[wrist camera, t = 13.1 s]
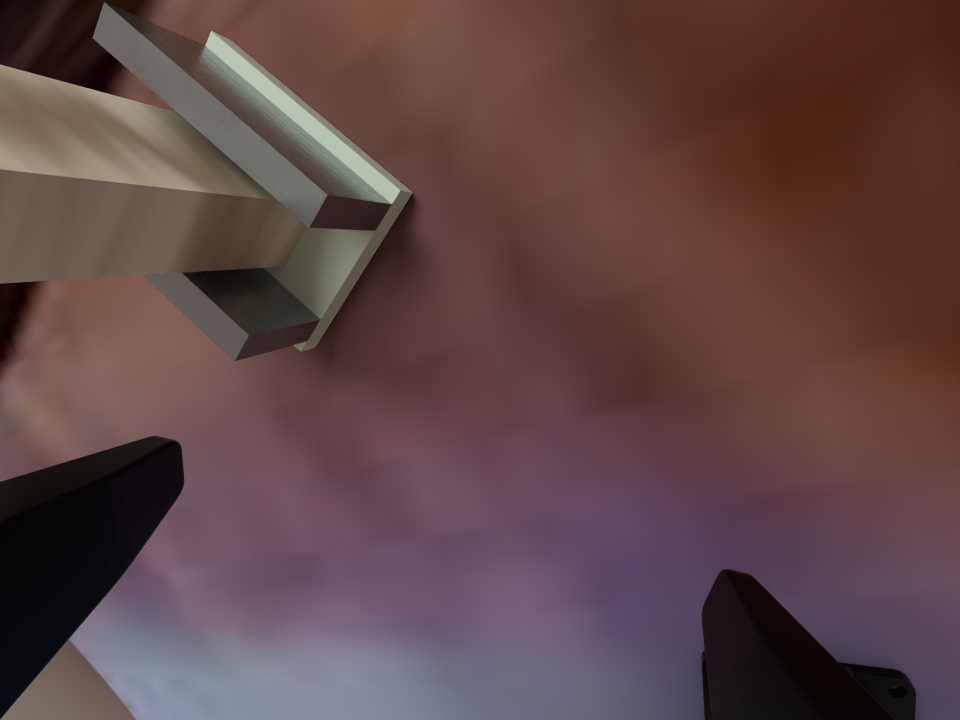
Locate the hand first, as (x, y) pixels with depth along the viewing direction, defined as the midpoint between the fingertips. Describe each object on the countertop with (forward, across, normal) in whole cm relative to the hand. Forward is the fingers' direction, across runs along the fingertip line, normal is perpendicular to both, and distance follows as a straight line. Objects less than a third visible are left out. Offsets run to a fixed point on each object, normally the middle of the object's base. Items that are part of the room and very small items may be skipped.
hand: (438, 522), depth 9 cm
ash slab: (+14, +11, -2) cm, 18 cm away
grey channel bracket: (+15, +11, -2) cm, 18 cm away
